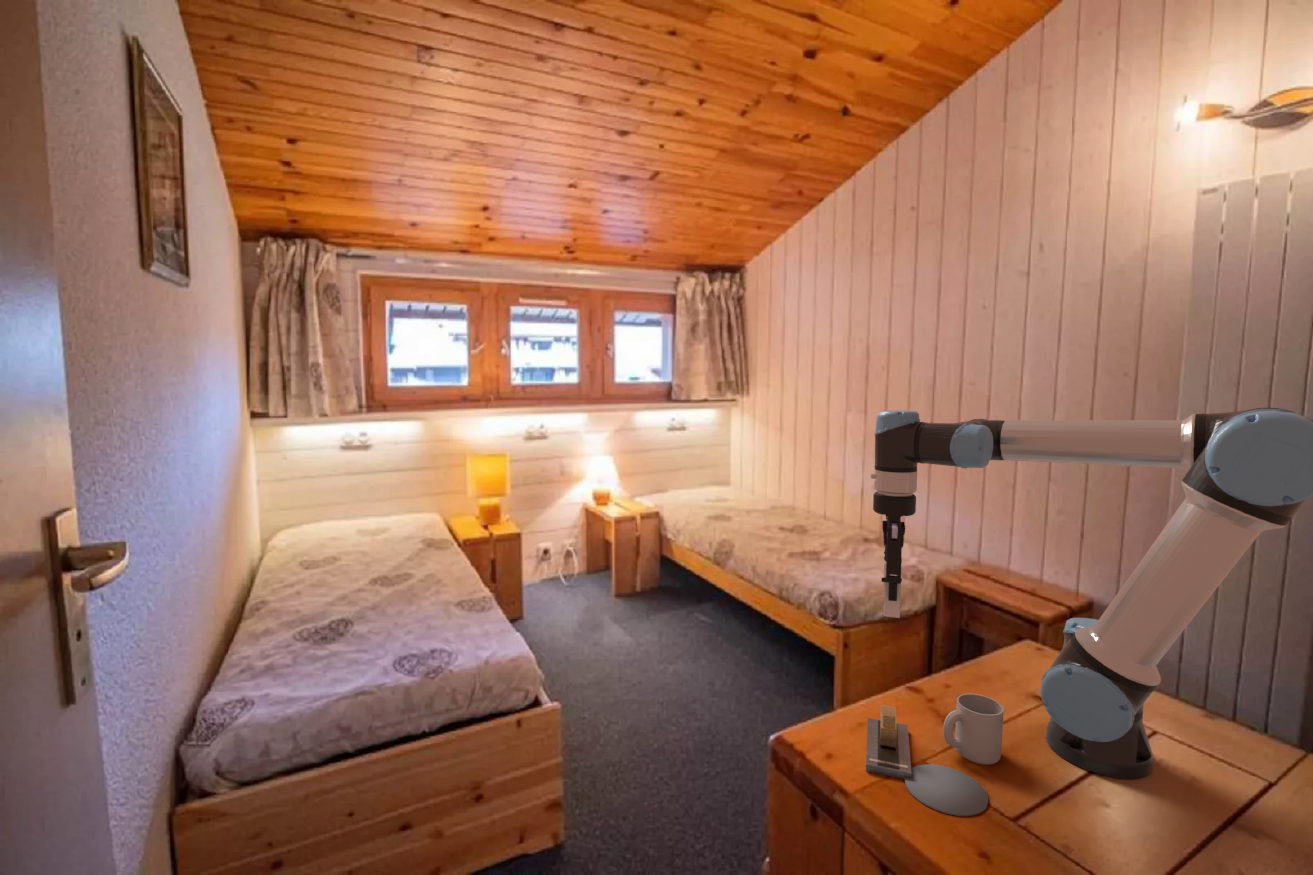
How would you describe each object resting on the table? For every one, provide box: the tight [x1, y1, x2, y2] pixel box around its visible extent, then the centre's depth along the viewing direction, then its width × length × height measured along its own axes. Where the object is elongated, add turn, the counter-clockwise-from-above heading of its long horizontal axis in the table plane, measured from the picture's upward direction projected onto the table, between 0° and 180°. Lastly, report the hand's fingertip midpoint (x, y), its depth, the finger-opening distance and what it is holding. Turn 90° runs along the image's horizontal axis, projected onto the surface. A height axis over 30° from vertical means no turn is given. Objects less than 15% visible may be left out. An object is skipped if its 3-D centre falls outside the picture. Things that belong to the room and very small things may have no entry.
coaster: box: [904, 763, 989, 817], centre depth 98 cm, size 12×12×1 cm
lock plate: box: [865, 717, 912, 780], centre depth 108 cm, size 7×15×1 cm, turn 160°
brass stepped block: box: [879, 704, 898, 748], centre depth 110 cm, size 3×8×5 cm, turn 160°
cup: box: [942, 693, 1005, 766], centre depth 107 cm, size 7×10×9 cm
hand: (890, 605), depth 117 cm, fingers open, 11 cm apart
